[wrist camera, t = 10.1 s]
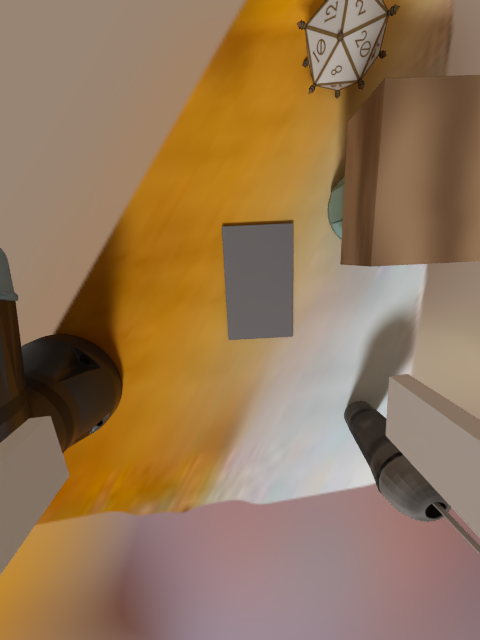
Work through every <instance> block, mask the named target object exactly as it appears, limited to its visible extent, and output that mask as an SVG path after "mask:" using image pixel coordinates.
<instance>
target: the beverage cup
mask: <svg viewBox="0 0 480 640" xmlns="http://www.w3.org/2000/svg"><path fill="white" fill-rule="evenodd" d="M344 418H345V421H346V423H347V425H348V427H349V429H350V431H351V433H352V435H353V437H354V439H355V441H356V442H357V444H358V446H359V448H360V450H361V452H362V454H363V455H364V457H365V459H366V461H367V463H368V465H369V467H370V468H371V471H372V474H373V476H374V479H375V481H376V485H377V487H378V490H379V492H380V493H382V495H383V496H384V497H385V498H386V499H387V500H388V501H389V502H390V503H391V504H392V505H393V506H394V507H395V508H396V509H397V510H398V511H399V512H401V513H403V514H404V515H406V516H408V517H411V518H413V519H415V520H420V521H427V522H428V521H436V520H438V519H441V518H442V517H445V518H446V519H447V520H448V521H449V522H450V523H451V524H452V525H453V526H454V527H455V528H456V530H458V532H459V533H460V534H461V535H462V536H463V537H464V538H465V539H466V540H467V541H468V542H469V543H470V545H472V547H474V549H475V550H476V551H477V552H478V553H479V554H480V545H479V544H478V543H477V542H476V541H475V540H474V539H473V538H472V537H471V536H470V535H469V534H468V533H467V532H466V531H465V530H464V529H463V528H462V527H461V526H460V525H459V523H458V522H457V521H456V520H455V519H454V518H453V517H452V516H451V515H450V514H449V513H448V512H449V510H450V508H451V506H450V505H449V504H448V503H447V502H446V501H445V500H444V499H443V498H442V496H441V495H440V494H439V493H438V492H437V491H436V490H435V489H434V488H433V487H432V486H431V484H430V483H429V482H428V481H427V480H426V479H425V478H424V477H423V476H422V475H421V474H420V472H419V471H418V470H417V469H416V468H415V467H414V466H413V465H412V464H411V463H410V461H409V460H408V459H407V458H406V457H405V456H404V455H403V454H402V453H401V452H400V451H399V449H398V448H397V447H396V446H395V445H394V444H393V443H392V442H391V441H390V440H389V439H388V437H387V436H386V420H387V419H386V418H385V417H384V416H382V415H381V414H380V413H379V412H378V411H377V410H376V409H374V408H372V407H371V406H370V405H369V404H367V403H365V402H355V403H353V404H351V405H350V406H349V407H348V408H347V409H346V411H345V414H344Z"/></svg>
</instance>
